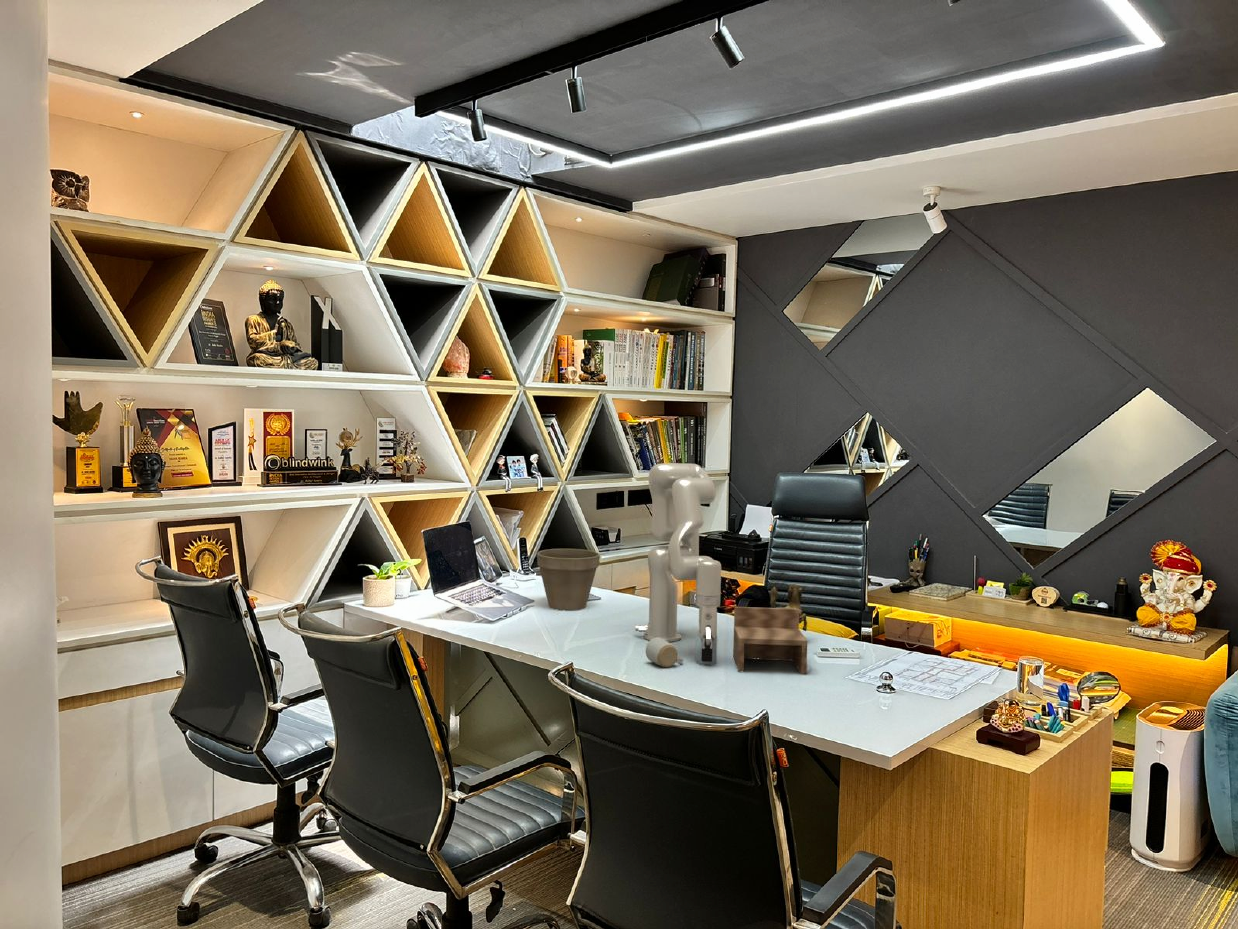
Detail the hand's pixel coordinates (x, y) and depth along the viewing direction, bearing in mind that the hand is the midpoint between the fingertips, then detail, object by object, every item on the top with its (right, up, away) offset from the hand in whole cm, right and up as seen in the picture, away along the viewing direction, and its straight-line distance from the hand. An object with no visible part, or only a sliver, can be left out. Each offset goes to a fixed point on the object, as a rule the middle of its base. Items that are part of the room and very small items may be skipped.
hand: (706, 658), depth 278 cm
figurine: (+28, -1, +27) cm, 39 cm away
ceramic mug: (-13, -1, -4) cm, 13 cm away
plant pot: (-47, +3, +80) cm, 93 cm away
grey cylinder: (0, -1, 0) cm, 1 cm away
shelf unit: (+19, -2, -3) cm, 19 cm away
